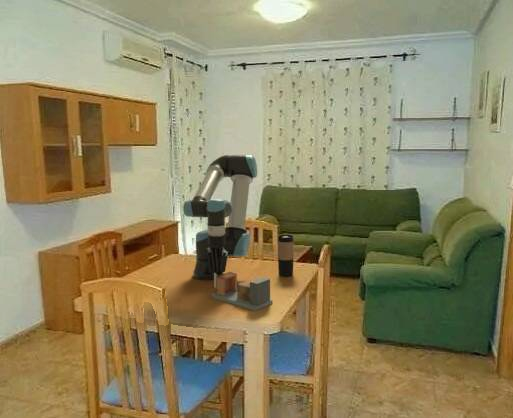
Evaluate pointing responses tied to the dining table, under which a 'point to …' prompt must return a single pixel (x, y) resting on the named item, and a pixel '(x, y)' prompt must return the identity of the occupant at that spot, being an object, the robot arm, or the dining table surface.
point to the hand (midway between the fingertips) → (217, 286)
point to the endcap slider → (226, 283)
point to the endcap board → (257, 295)
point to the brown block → (243, 291)
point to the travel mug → (285, 255)
